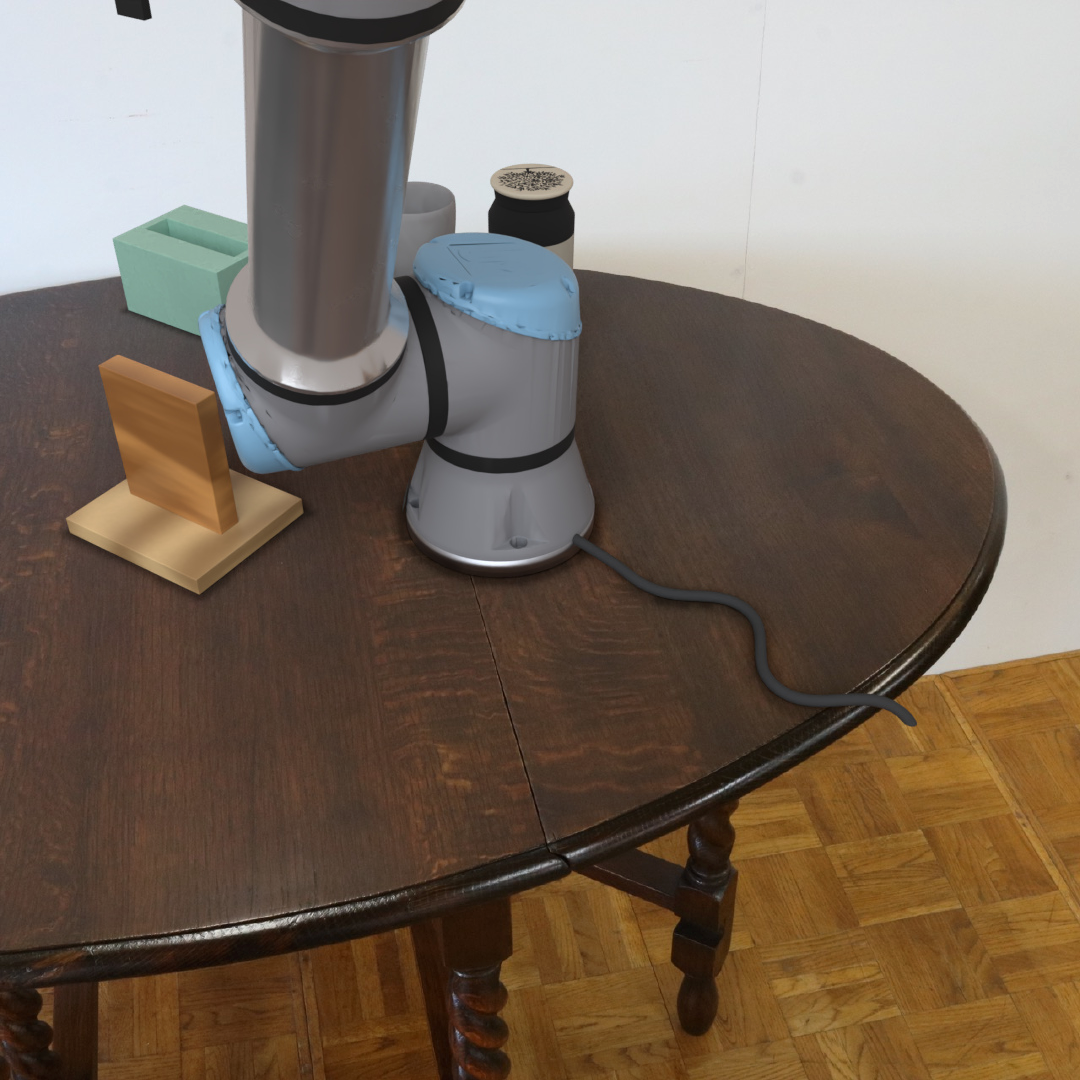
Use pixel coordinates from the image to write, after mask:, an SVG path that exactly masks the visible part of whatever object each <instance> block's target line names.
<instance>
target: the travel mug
mask: <svg viewBox="0 0 1080 1080" xmlns="http://www.w3.org/2000/svg"><path fill="white" fill-rule="evenodd" d="M489 183H490V186H491V188H492V189H493V193H494V199H493V201H492V203H491V205H490V206H489V209H488V211H487V228H488V229H487V233H492V234H500V235H506V236H511V237H515V238H519V239H522V240H525V241H529V242H531V243H534V244H537V245H539V246H542V247H544V248H546V249H548V250H550V251H551V252H553V253H555V254H556V255H557V256H559V257H560V258H561V259H563V260H564V261H565V262H566V263H567V264H568V265H569V267H570V268H571V269H572V271H573V272H574V256H575V255H574V253H575V252H574V251H575V224H576V212H575V209H574V208H573V205H572V204H571V202H570V200H569V196H570V191H571V189H572V188H573V186H574V178H573V176H572V175H571V174H570V173H569V172H568V171H566V170H564V169H562V168H560V167H557V166H554V165H549V164H543V163H520V164H512V165H508V166H505V167H502V168H500V169H497V170H496V171H495V172H494V173H493V174H492V175H491V176H490V179H489Z"/></svg>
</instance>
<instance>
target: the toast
mask: <svg viewBox="0 0 1080 1080" xmlns="http://www.w3.org/2000/svg"><path fill="white" fill-rule="evenodd" d="M98 370H99V375H100V378H101V381H102V385H103V389H104V394H105V397H106V402H107V406H108V411H109V414H110V419H111V422H112V426H113V429H114V434H115V438H116V441H117V445H118V449H119V453H120V458H121V461H122V466H123V470H124V474H125V477H126V478H125V479H127V482H128V486H129V490H130V493H131V494H133V495H135V496H137V497H139V498H141V499H144V500H146V501H148V502H150V503H152V504H155V505H157V506H159V507H161V508H163V509H166V510H168V511H170V512H172V513H174V514H177V515H179V516H181V517H183V518H186V519H188V520H190V521H192V522H194V523H197V524H199V525H201V526H203V527H205V528H208V529H210V530H212V531H214V532H216V533H219V534H223V533H224V532H226V531H227V530H228V529H230V528H231V527H232V526H234V525H235V524H236V523H238V516H237V510H236V505H235V499H234V494H233V488H232V483H231V477H230V472H229V469H230V468H229V463H228V462H229V461H228V457H227V451H226V445H225V439H224V434H223V429H222V422H221V418H220V417H221V416H220V413H219V406H218V402H217V396H216V392H215V391H213V390H210V389H208V388H205V387H203V386H200V385H197V384H195V383H192V382H190V381H188V380H185V379H182V378H180V377H177V376H175V375H172V374H170V373H167V372H164V371H162V370H159V369H157V368H154V367H153V366H152V367H151V366H149V365H146V364H144V363H141V362H139V361H136V360H134V359H131V358H128V357H126V356H123V355H122V354H121V355H120V354H116V355H114V356H112V357H111V358H108V359H107V360H105V361H103V362H101V363H100V364H98Z"/></svg>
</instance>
